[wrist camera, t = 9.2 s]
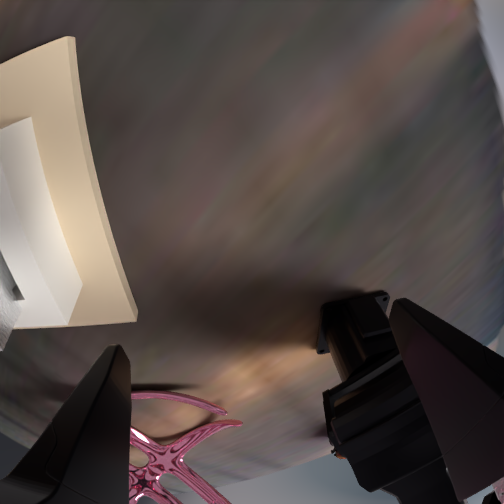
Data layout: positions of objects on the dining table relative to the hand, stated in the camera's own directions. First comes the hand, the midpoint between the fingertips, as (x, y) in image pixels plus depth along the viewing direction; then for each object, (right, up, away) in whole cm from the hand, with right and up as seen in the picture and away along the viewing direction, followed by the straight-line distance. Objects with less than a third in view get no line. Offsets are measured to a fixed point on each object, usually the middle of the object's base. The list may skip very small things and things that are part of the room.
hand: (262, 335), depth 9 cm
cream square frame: (-18, +5, +8) cm, 20 cm away
